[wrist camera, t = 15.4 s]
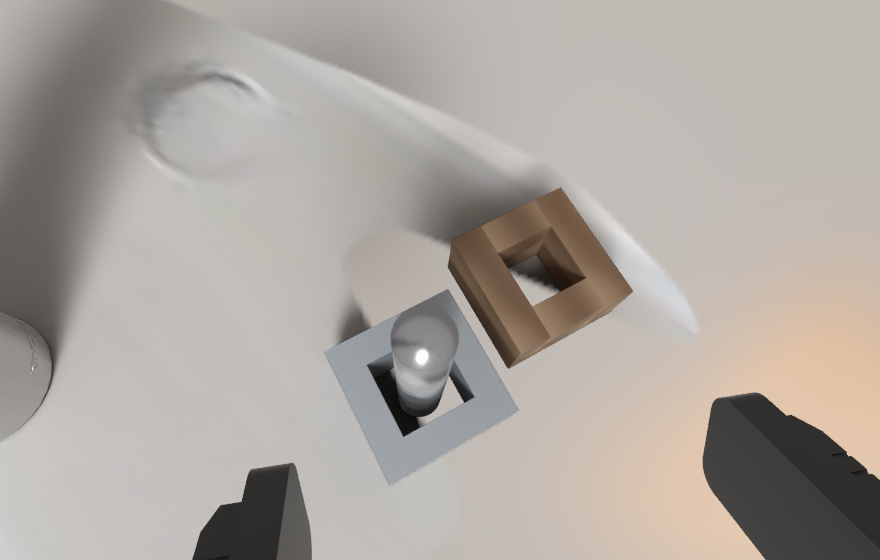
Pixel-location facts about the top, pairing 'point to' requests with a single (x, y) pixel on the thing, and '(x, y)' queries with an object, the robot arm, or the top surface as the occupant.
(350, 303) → the top surface
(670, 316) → the top surface
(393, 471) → the socket block
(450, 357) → the steel axle
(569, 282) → the wooden square frame
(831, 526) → the robot arm
